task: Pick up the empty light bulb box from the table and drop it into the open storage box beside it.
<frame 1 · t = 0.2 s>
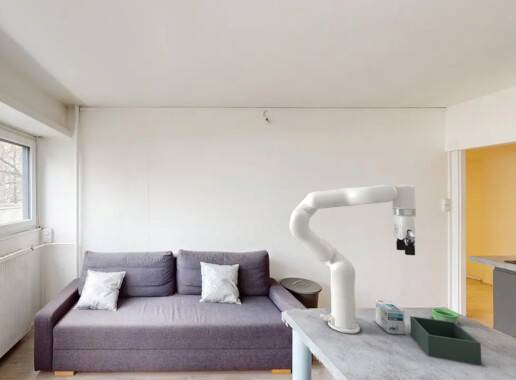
hand: (405, 252, 113), 36 cm above the table, tool pointing down, fingers open, 9 cm apart
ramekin: (445, 321, 125), on the table
open storage box: (442, 348, 105), on the table
light bulb box: (389, 328, 120), on the table
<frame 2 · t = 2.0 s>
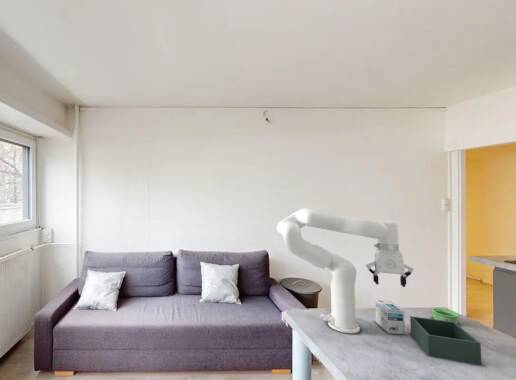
hand: (389, 284, 120), 20 cm above the table, tool pointing down, fingers open, 9 cm apart
nothing on the table moved.
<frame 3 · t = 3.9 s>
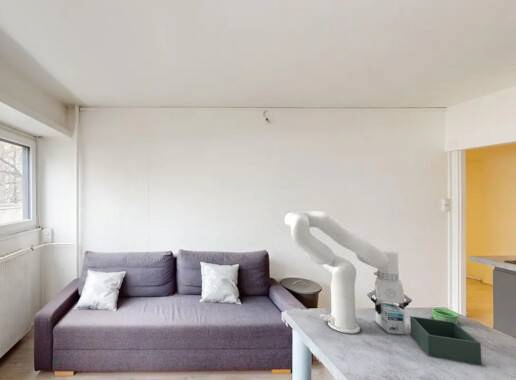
hand: (389, 314, 120), 6 cm above the table, tool pointing down, fingers closed on light bulb box, 7 cm apart
light bulb box: (389, 328, 120), on the table, touching gripper
everything else where it was.
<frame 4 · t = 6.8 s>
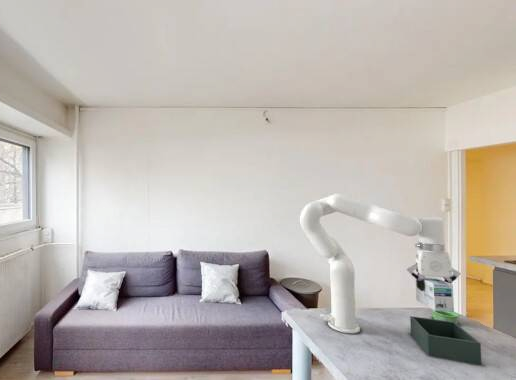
hand: (433, 290, 107), 22 cm above the table, tool pointing down, fingers closed on light bulb box, 7 cm apart
light bulb box: (434, 306, 107), point 16 cm above the table, touching gripper
everything else where it was.
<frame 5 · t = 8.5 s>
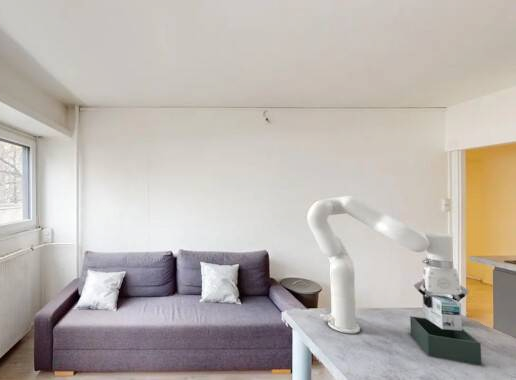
hand: (441, 307, 105), 16 cm above the table, tool pointing down, fingers closed on light bulb box, 7 cm apart
light bulb box: (441, 324, 105), point 9 cm above the table, touching gripper
everything else where it was.
when the fingers open (14 cm above the table, at t = 9.7 s): light bulb box drops 6 cm, resting on open storage box.
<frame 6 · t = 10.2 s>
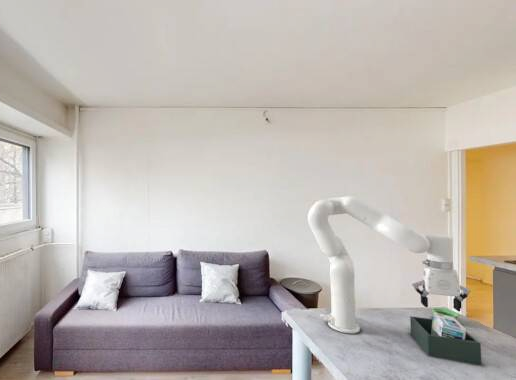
hand: (440, 307, 105), 16 cm above the table, tool pointing down, fingers open, 9 cm apart
light bulb box: (445, 346, 104), point 1 cm above the table, touching open storage box
everything else where it was.
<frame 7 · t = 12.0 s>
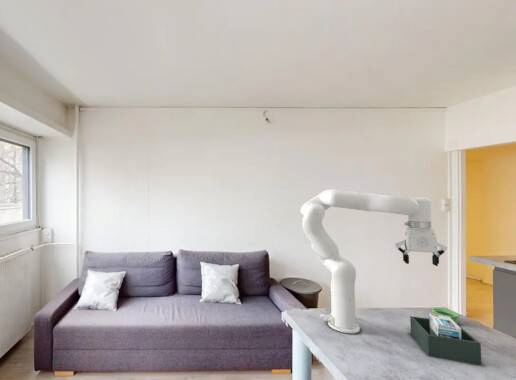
hand: (420, 264, 116), 30 cm above the table, tool pointing down, fingers open, 9 cm apart
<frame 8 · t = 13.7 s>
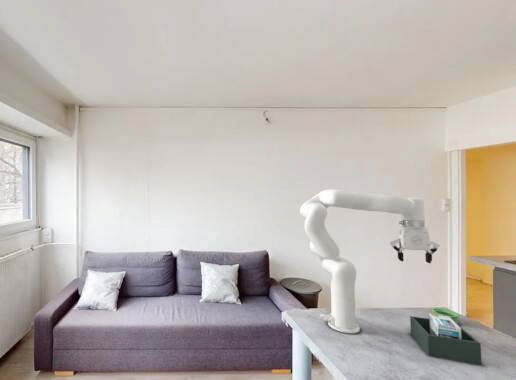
hand: (414, 261, 120), 30 cm above the table, tool pointing down, fingers open, 9 cm apart
nothing on the table moved.
at the end: light bulb box inside the target area in the open storage box (1.0 cm from its centre), point 0.6 cm above the open storage box's base; the gripper is holding nothing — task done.
